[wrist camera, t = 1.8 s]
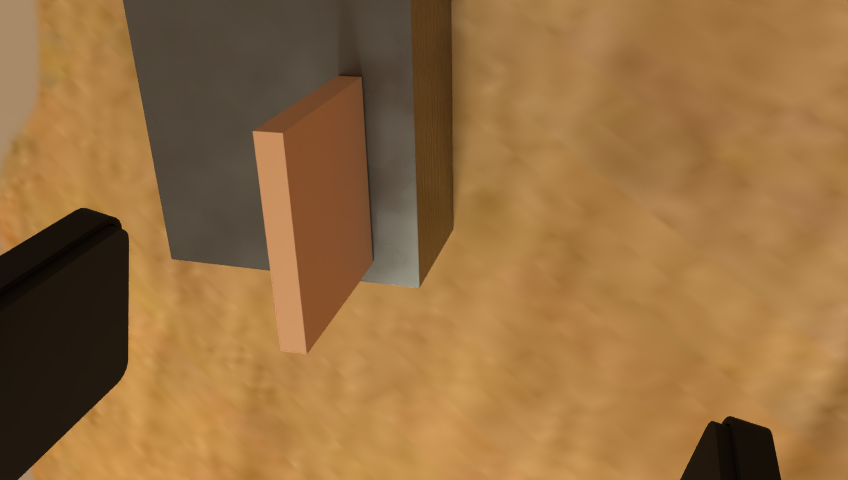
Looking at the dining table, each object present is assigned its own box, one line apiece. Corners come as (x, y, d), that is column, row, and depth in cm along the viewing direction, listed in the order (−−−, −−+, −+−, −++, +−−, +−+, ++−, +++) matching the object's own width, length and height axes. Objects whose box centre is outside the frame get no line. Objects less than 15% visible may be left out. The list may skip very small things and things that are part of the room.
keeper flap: (337, 75, 30) (361, 77, 29) (351, 260, 33) (373, 263, 33) (252, 130, 24) (282, 133, 23) (280, 350, 27) (306, 354, 27)
